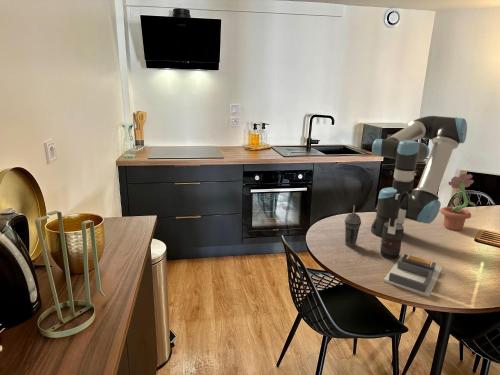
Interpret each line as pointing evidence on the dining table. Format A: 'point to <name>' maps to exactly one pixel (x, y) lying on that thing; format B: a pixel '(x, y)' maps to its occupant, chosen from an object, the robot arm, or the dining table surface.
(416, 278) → the board
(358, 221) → the beverage cup
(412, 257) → the orange rectangular brick
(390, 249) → the camera lens
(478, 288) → the dining table surface
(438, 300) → the dining table surface
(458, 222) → the decorative flower
